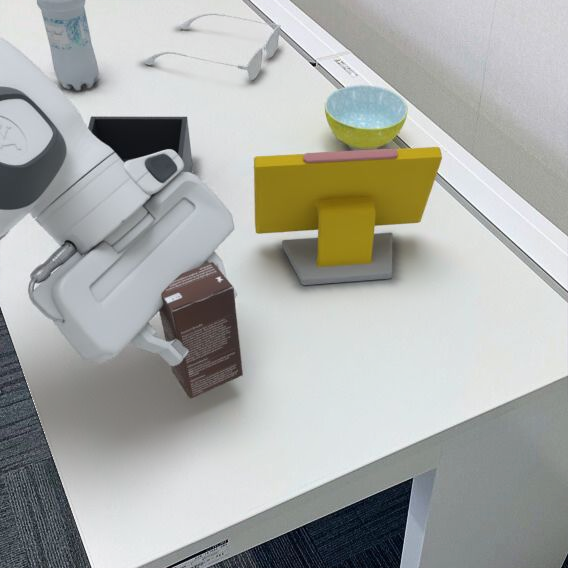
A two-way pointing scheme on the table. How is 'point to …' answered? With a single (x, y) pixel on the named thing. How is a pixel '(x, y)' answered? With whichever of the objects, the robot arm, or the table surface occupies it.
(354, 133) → the bowl
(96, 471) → the table surface
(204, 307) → the box
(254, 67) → the eyeglasses
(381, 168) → the toy computer monitor
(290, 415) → the table surface
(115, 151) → the bin
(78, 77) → the bottle
